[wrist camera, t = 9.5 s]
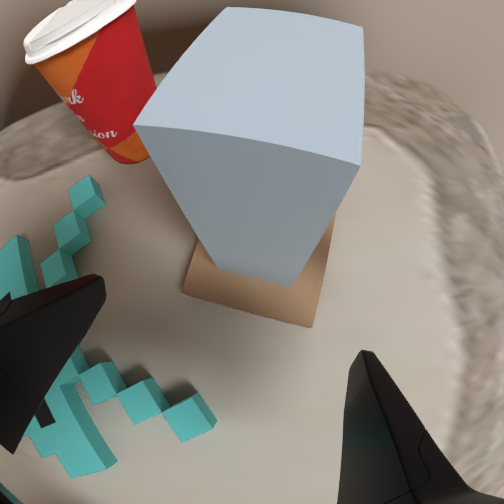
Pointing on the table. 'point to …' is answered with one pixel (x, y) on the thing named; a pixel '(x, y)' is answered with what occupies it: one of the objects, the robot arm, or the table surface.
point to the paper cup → (97, 69)
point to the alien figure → (93, 379)
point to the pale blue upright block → (260, 135)
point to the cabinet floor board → (261, 287)
